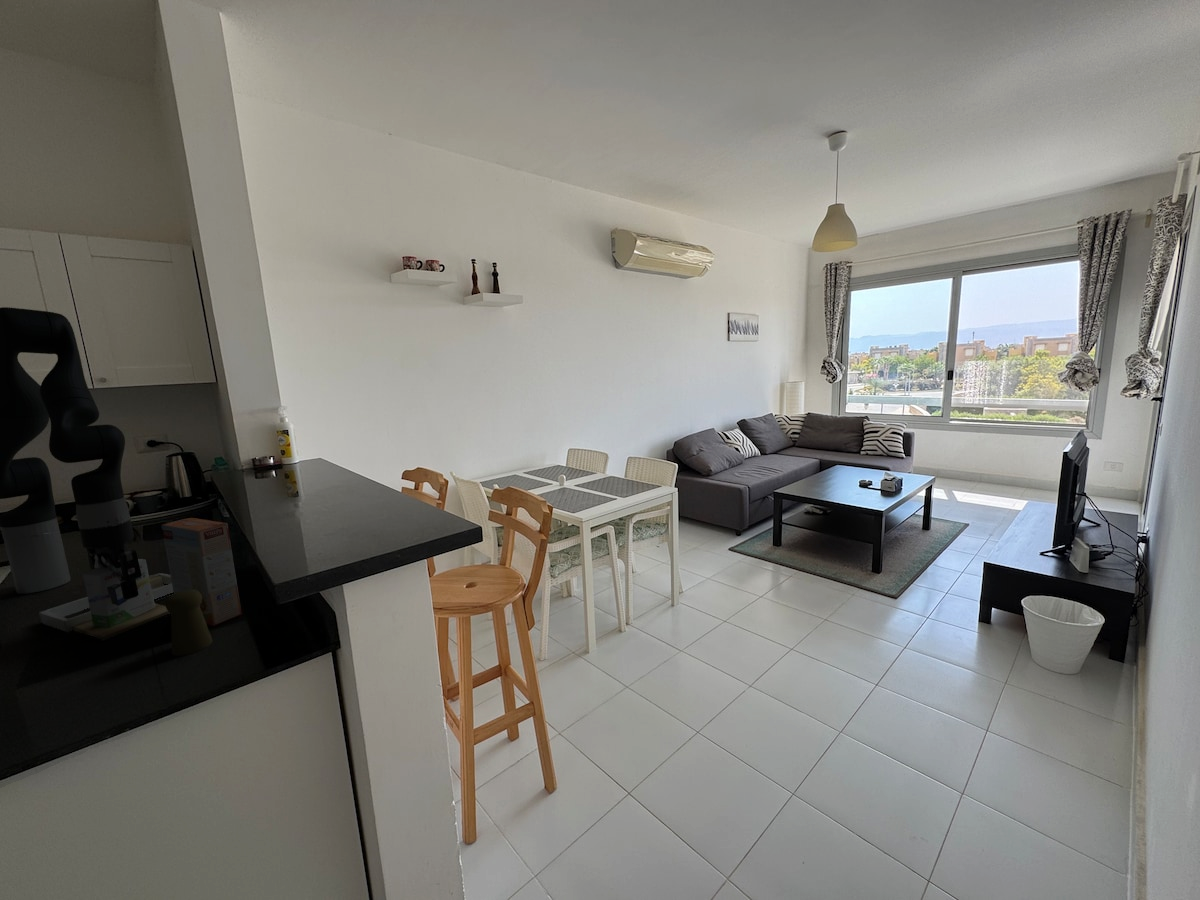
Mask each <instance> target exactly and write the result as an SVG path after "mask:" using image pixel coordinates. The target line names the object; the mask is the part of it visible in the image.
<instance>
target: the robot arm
mask: <svg viewBox="0 0 1200 900" xmlns="http://www.w3.org/2000/svg"><path fill="white" fill-rule="evenodd" d="M21 353H26V354H27V353H28V354H43V355H44V354H45V355H56V356H57V361H56V362H55V364H54V366H53V367H52V368H51V370H50V371H49V372H48V373H47V374H46V376H45V377H44V378H43V380H42V382H41V383H38V382H37V381H36V380H35V379H34V378H33V377H32V376H31V375H30V374H29V373H28V372H27V371H26V370H25V368H24V367H23V366H22V364H21V363H20V361H19V359H18V357H19V354H21ZM84 373H85V372H84V369H83V364H82V359H81V355H80V351H79V347H78V344H77V339H76V335H75V332H74V329H73V325H72V324H71V322H70V320H69V319H68V318H67V317H66V316H65V315H63V314H61V313H58V312H54V311H46V310H40V309H39V310H37V309H27V308H20V307H10V306H9V307H5V306H3V307H0V500H6V499H12V498H17V497H22V496H23V497H24V496H27V499H26V500H24V501H23V502H22V503H21V504H19V505H18V506H16V507H14V508H12V509H9V510H7V511H5V512H3V513H1V514H0V530H1V534H2V539H3V542H4V545H5V546H4V547H5V551H6V554H7V558H8V563H9V566H10V570H11V575H12V578H13V579H12V580H13V583H14V586H15V591H16V594H21V595H24V594H32V593H33V594H34V593H39V592H43V591H47V590H51V589H54V588H57V587H60V586H62V585H65V584H67V583H69V582H70V581H71V574H70V571H69V566H68V562H67V556H66V553H65V548H64V545H63V543H64V542H63V540H62V535H61V531H60V527H59V522H58V518H57V514H56V503H55V498H54V493H53V486H52V479H51V473H50V470H49V466H48V465H47V463H46V462H45V461H44V460H43V459H42V458H40V457H37V456H35V457H33V456H31V457H24V458H22V457H21V458H14V457H15V456H16V455H17V454H18V453H19V452H20V450H21V449H23V448H25V446H27V445H28V444H29V443H31V442H32V441H33V440H34V439H36V438H37V437H39V435H40V434H42V433H43V431H44V430H45V429H46V428H47V426H48V424H49V421H50V432H49V433H50V435H49V440H48V448H49V452H50V454H51V456H52V457H53V458H54V459H55V460H57V461H59V462H61V463H65V464H74V463H75V464H76V463H83V462H91V461H97V460H102V461H101V463H100V465H99V466H98V467H96V468H95V469H91V470H90V471H86V472H82V473H80V474H77V475H75V476H73V477H72V478H71V481H70V484H71V490H72V494H73V498H74V504H75V515H76V520H77V526H78V529H79V533H80V538H81V544H82V547H83V548H84V549H86V551H87V557H88V563H89V568H90V569H89V570H92V569H95V568H98V567H101V566H104V567H107V568H109V570H110V571H111V573H112V575H116V576H117V577H118V579H119V581H120V582H121V583H120V585H121V589H122V594H123V598H124V599H126V600H128V599H131V598H134V597H137V596H138V589H137V584H136V579H137V578H139V577H141V576H142V574H141V570H140V566H139V562H138V559H139V558H138V553H137V551H136V549H131V550H129V549H127V546H126V543H128V542H130V541H132V540H133V539H134V537H135V536H134V531H133V530H134V529H133V525H132V521H131V520H132V519H131V516H130V510H129V506H128V504H127V502H126V499H125V493H124V489H123V484H122V477H121V472H122V471H121V470H122V463H123V462H122V461H123V457H124V453H125V446H126V437H125V434H124V433H123V431H122V430H121V429H120V428H118V427H117V426H115V425H112V424H95V425H93V424H94V423H96V422H97V421H98V420H99V418H100V412H99V408H98V406H97V404H96V401H95V400H94V398H93V396H92V394H91V391H90V388H89V387H88V384H87V381H86V378H85V374H84ZM120 567H121V568H120ZM133 568H134V569H133ZM134 570H135V571H134ZM128 572H129V574H128Z"/></svg>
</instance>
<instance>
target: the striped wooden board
mask: <svg viewBox="0 0 1200 900" xmlns="http://www.w3.org/2000/svg"><path fill="white" fill-rule="evenodd" d="M154 604H155V608H154V609H151V610H149V611H147V612H145V613H142V614H140V615H138V616H136V617H133V618H131V619H129V620H127V621H124V622H122V623H120V624H118V625H115V626H113V627H110V628H109V627H102V626H94V625H93V621H92V620H89V621H86V622H83V623H81V624H78V625H75V626H73V630H74V631H73V632H76V631H77V632H76V633H79V632H80V633H79V634H81V633H84V634H87V635H91V636H95V637H98V638H101V639H105V638H107V637H110V636H113V635H116V634H118V633H121V632H123V631H126V630H128V629H131V628H133V627H135V626H138V625H140V624H143V623H146V622H148V621H151V620H153V619H156V618H159V617H161V616H164V615H167V614H170V612H168V610H167V608H166V605H163V604H158V603H157V602H156V603H155V602H154ZM84 634H83V635H84ZM87 635H86V636H87Z"/></svg>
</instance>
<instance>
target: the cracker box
mask: <svg viewBox="0 0 1200 900" xmlns="http://www.w3.org/2000/svg"><path fill="white" fill-rule="evenodd" d="M160 526H161V527H160V528H161V532H162V537H163V542H164V548H165V553H166V559H167V563H168V564H167V565H168V570H169V575H170V576H171V581H172V587H173V592H174V594H175V593H178V592H181V591H185V590H197V591H198V592H200V594H201V596H202V602H201V604H200V609H201V611H202V614H203V616H204V619H205V622H206V624H207V626H211V627H216V626H217V625H220V624H222V623H224V622H226V621H229V620H231V619H234V618H237V617H239V616H241V615H243V614H242V613H243V612H242V607H241V601H240V596H239V595H240V594H239V590H238V589H239V588H238V584H237V583H238V582H237V577H236V570H235V564H234V558H233V551H232V545H231V539H230V533H229V526H228V523H227V522H221V521H214V520H209V519H201V518H196V517H188V518H182V519H179V520H175V521H171V522H167V523H163V524H161V525H160Z"/></svg>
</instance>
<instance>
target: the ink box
mask: <svg viewBox="0 0 1200 900" xmlns="http://www.w3.org/2000/svg"><path fill="white" fill-rule="evenodd" d="M138 562H139V566H140V570H141V574H142V576H141V577H139V578H137V579H136V584H137V589H138V596H137V597H134V598H131V599H128V600H126V599H124V598H123V594H122V589H121V585H120V583H121V582H120V581H119V579H118V577H117V576H116V575H112V573H111V571H110V570H109V568H107V567H104V566H101V567H98V568H95V569H92V570H91V569H89V570H87V571H85V572H84V573H82V578H83V583H84V587H85V592H86V597H88V602H89V607H90V608H89V612H91V616H92V621H93V625H94V626H102V627H109V628H110V627H113V626H115V625H118V624H120V623H122V622H124V621H127V620H129V619H131V618H133V617H136V616H138V615H140V614H142V613H145V612H147V611H149V610H151V609H154V608H155V604H154V603H155V601H154V599H153V594H152V589H151V585H150V580H149V576H150V575H149V571H148V565H147V559H143V558H138ZM120 568H121V567H120ZM133 569H134V568H133ZM134 571H135V570H134ZM128 574H129V572H128Z"/></svg>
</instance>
